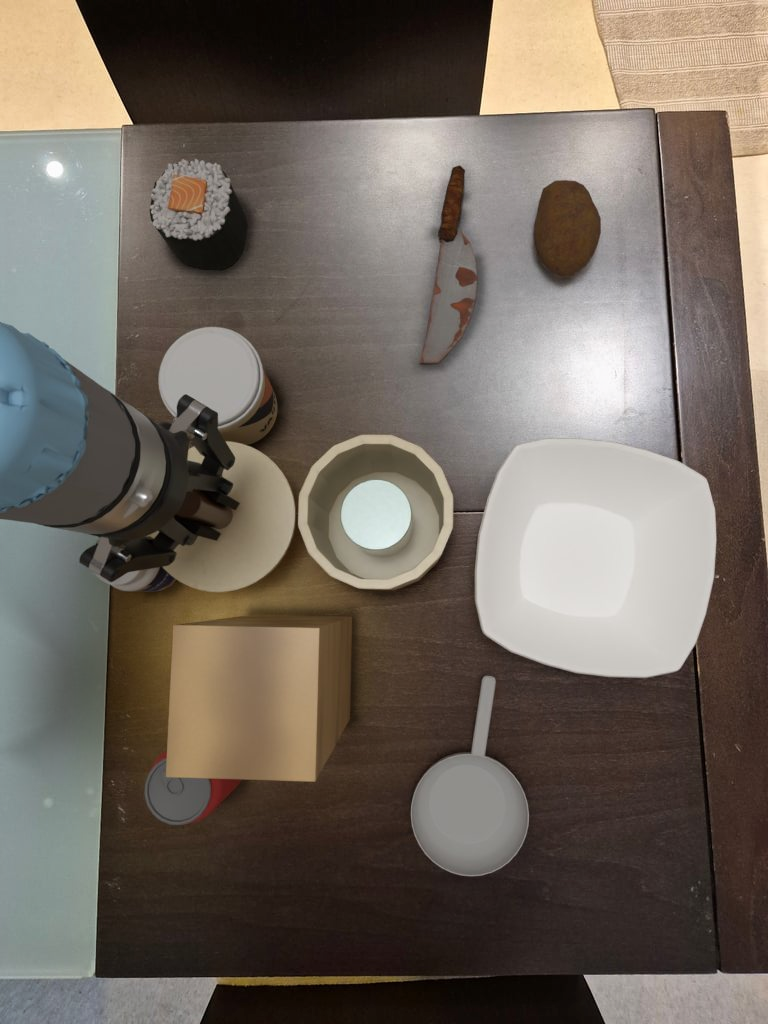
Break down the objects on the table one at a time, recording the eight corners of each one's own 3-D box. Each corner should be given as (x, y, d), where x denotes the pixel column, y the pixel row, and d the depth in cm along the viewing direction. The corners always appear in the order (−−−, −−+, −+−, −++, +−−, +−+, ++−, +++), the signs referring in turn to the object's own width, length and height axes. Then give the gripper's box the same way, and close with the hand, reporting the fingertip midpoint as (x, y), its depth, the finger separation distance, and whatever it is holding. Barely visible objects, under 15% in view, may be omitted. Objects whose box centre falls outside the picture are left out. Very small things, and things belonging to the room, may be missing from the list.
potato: (587, 193, 77) (602, 158, 70) (600, 282, 76) (616, 255, 69) (524, 201, 77) (533, 167, 71) (536, 290, 76) (546, 263, 70)
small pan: (403, 851, 70) (402, 865, 66) (431, 662, 72) (432, 666, 68) (515, 871, 70) (520, 887, 66) (541, 681, 71) (548, 685, 68)
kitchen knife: (465, 369, 75) (416, 360, 74) (462, 373, 76) (414, 364, 76) (498, 171, 76) (451, 161, 76) (494, 179, 78) (448, 169, 77)
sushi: (167, 268, 78) (139, 231, 70) (180, 194, 79) (154, 149, 71) (241, 276, 78) (221, 240, 70) (254, 202, 78) (235, 158, 70)
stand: (248, 716, 72) (165, 777, 49) (252, 614, 74) (172, 624, 50) (349, 719, 72) (315, 782, 48) (352, 616, 73) (319, 627, 49)
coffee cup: (284, 454, 75) (259, 428, 63) (194, 453, 76) (152, 427, 64) (287, 365, 76) (262, 323, 64) (198, 365, 77) (157, 323, 65)
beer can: (218, 709, 73) (179, 732, 61) (264, 758, 72) (233, 791, 60) (170, 757, 72) (121, 789, 60) (215, 807, 72) (174, 849, 60)
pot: (319, 588, 73) (295, 587, 59) (323, 464, 75) (300, 433, 60) (446, 591, 73) (452, 590, 58) (447, 465, 74) (453, 435, 60)
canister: (352, 556, 73) (339, 549, 61) (353, 497, 74) (341, 478, 62) (412, 557, 73) (411, 550, 61) (413, 497, 74) (412, 479, 62)
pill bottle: (152, 603, 74) (111, 604, 64) (117, 561, 75) (71, 555, 65) (195, 565, 74) (161, 561, 64) (160, 523, 75) (120, 513, 65)
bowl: (489, 440, 74) (498, 421, 66) (695, 476, 73) (732, 461, 64) (453, 643, 72) (458, 650, 64) (664, 684, 71) (698, 697, 62)
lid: (145, 591, 66) (91, 590, 55) (152, 443, 68) (101, 413, 57) (295, 593, 66) (271, 593, 55) (299, 443, 67) (276, 414, 56)
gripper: (83, 623, 40) (204, 612, 63) (234, 385, 41) (298, 460, 65) (-28, 553, 41) (132, 568, 64) (123, 320, 42) (226, 418, 65)
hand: (215, 514), depth 64 cm, fingers closed on lid, 2 cm apart
